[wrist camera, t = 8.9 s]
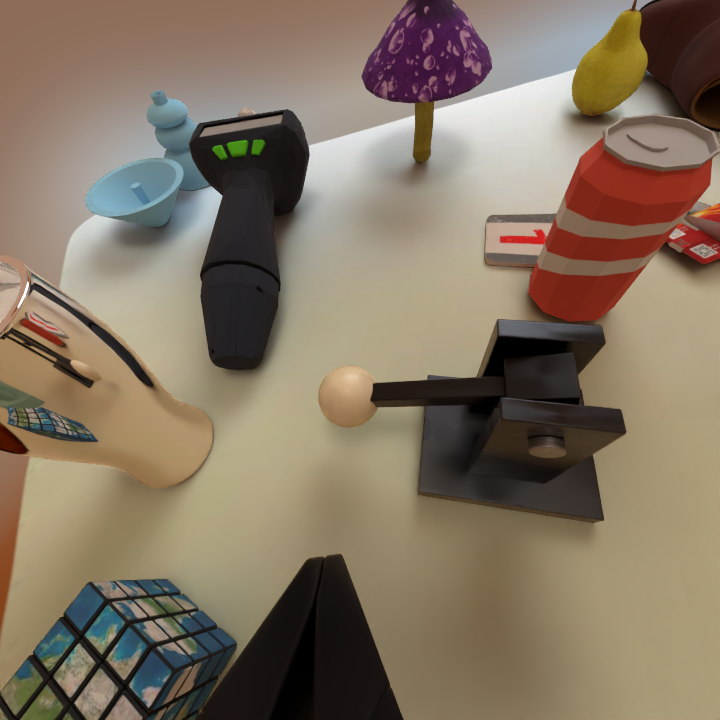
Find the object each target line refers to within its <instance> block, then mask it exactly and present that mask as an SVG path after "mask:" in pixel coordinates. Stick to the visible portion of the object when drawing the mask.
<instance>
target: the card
mask: <svg viewBox="0 0 720 720" xmlns="http://www.w3.org/2000/svg"><path fill="white" fill-rule="evenodd" d="M691 216H695V217H699V218H703V219H707V220H711V221H715V222H719V223H720V203H719V204H717V205H714V206H712V207H709V208H707V209H704V210H702V211H699V212H697V213H694V214H691ZM665 242H667V243H669V245H668V246H670V247H672V248H674V249H675V250H677V251H678V252H680V253H681V252H683V253H685V254H686V255H688V256H690V257H691V258H693V259H694V260H696V261H698V262H699V263H702V264H707V263H710V262H712V261H714V260H717V259H719V258H720V241H717V240H716V239H714V238H712V236H710V235H708V234H707V233H705V232H703V231H701V230H698V231H696V230H694V229H692V228H690V227H688V226H686V225H684V224H682V223H679V225H678V226H677V227H676V229H675V230H674V231H673V232H672V234H671V235H670V236H669V237H668V239H667V240H666V241H665Z"/></svg>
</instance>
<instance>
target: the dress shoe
mask: <svg viewBox="0 0 720 720" xmlns="http://www.w3.org/2000/svg"><path fill="white" fill-rule="evenodd" d="M639 12H640V13H641V26H640V41H641V43H642V45H643V47H644V49H645V50H646V53H647V58H648V63H647V68H646V70H647V71H648V72H650V73H651V74H652V75H653V76H654V77H655V78H656V79H657V80H658V81H659V82H661V83H662V84H663V85H664V86H666V87H668V88H670V89H672V92H673V93H674V94H675V96H676V98H677V100H678V102H679V104H680V106H681V107H682V109H683V110H684V111H685V112H686V113H687V115H688V116H689V117H690V118H691V119H692V120H694V121H695V122H697V123H699V124H701V125H703V126H706V127H710V128H714V129H718V130H720V0H654V1H651V2H649V3H648V4H646V5H645V6H644V7H642V8H641V9H640V10H639Z"/></svg>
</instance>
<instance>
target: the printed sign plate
mask: <svg viewBox="0 0 720 720" xmlns="http://www.w3.org/2000/svg"><path fill="white" fill-rule="evenodd" d="M556 215H557V214H532V215H491V216H489V217H488V218H487V221H486V237H485V261H486V262H487V263H488V264H490V265H495V266H519V267H535V264H536V262H537V259H538V257H539V255H540V252H541V250H542V248H543V245H544V243H545V241H546V238H547V236H548V233H549V231H550V229H551V226H552V224H553V222H554V219H555V217H556Z"/></svg>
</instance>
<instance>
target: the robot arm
mask: <svg viewBox="0 0 720 720" xmlns="http://www.w3.org/2000/svg"><path fill="white" fill-rule="evenodd" d="M195 720H404V719H403V717H402V714H401V712H400V709H399V707H398V704H397V701H396V698H395V696H394V693H393V690H392V688H391V687H390V683H389V680H388V677H387V675H386V672H385V669H384V666H383V664H382V661H381V658H380V656H379V653H378V650H377V647H376V645H375V642H374V639H373V637H372V634H371V631H370V628H369V626H368V623H367V620H366V618H365V615H364V612H363V609H362V607H361V604H360V601H359V599H358V596H357V593H356V590H355V588H354V585H353V582H352V580H351V577H350V574H349V571H348V569H347V566H346V563H345V561H344V558H343V556H342V554H335V555H328V556H326V557H325V558H324V557H315V558H309V559H308V560H306V562H305V563H304V564H303V566H302V567H301V569H300V570H299V572H298V573H297V574H296V576H295V577H294V579H293V580H292V582H291V583H290V584H289V586H288V587H287V589H286V590H285V592H284V593H283V594H282V596H281V597H280V599H279V600H278V602H277V603H276V604H275V606H274V607H273V609H272V610H271V611H270V613H269V614H268V616H267V617H266V619H265V620H264V621H263V623H262V624H261V626H260V627H259V629H258V630H257V631H256V633H255V634H254V636H253V637H252V639H251V640H250V641H249V643H248V644H247V646H246V647H245V649H244V650H243V651H242V653H241V654H240V656H239V657H238V659H237V660H236V661H235V663H234V664H233V666H232V667H231V668H230V670H229V671H228V673H227V674H226V676H225V677H224V678H223V680H222V681H221V683H220V684H219V686H218V687H217V688H216V690H215V691H214V693H213V694H212V696H211V697H210V698H209V700H208V701H207V703H206V704H205V706H204V707H203V713H202V712H200V713H199V714H198V715H197V717H196V718H195Z"/></svg>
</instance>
